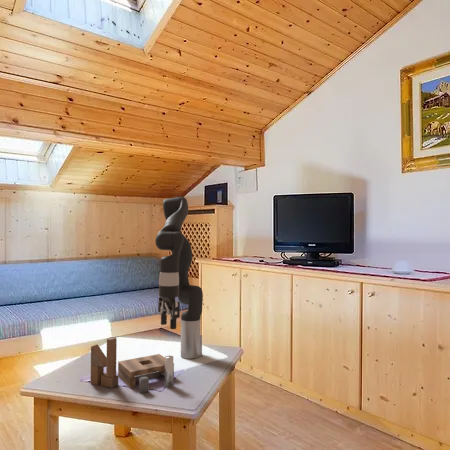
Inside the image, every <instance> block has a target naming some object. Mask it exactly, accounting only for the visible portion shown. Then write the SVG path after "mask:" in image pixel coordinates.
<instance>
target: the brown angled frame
mask: <svg viewBox="0 0 450 450" xmlns="http://www.w3.org/2000/svg"><path fill="white" fill-rule="evenodd" d="M117 341H118V340H117V337H113V336H111V337H108V338H107V339H106V355H105V353H104V351H103V350H102V349H101V347H100V346H99V344H94V345H91V346H90V384H93V385H96V386H97V385H101V387H106V388H111V389H113V388H114V387H116V386H119V377H118V374H117V350H118V349H117ZM104 369H106V371H105V372H104Z"/></svg>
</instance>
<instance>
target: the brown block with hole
mask: <svg viewBox="0 0 450 450" xmlns="http://www.w3.org/2000/svg"><path fill="white" fill-rule="evenodd" d="M158 372H159V373H160V374H161V375H162V376H164V377H165V356H164V355H162V354H160V353H157V354H152V355H151V354H150V355H147V356H146V355H145V356H140V357H135V358H130V359H125V360H119V361H118V362H117V375H118V379H120V380H121V381H122V382H123V383H124V384H126V386H127V387H129V389H132V388H136V377H138V376H139V377H140V376H143V375H144V376H145V375H149V374H152V373H154V374H155V373H158ZM173 379H175V363H174V362H173Z"/></svg>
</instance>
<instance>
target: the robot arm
mask: <svg viewBox="0 0 450 450" xmlns="http://www.w3.org/2000/svg"><path fill="white" fill-rule="evenodd" d="M162 208H163V214H164V219H165V222H164V225H163V227H162V228H161V229H160V230H159V231H158V232H157V234H156V236H155V241H154V242H155V246H156V248H157V249H158V250H161V251H171V254H169V255H165V256H162V257H161V258H160V260H159V277H158V280H159V281H158V296H159V297H158V307H157V312H158V313H159V315H160V325H162V326H164V325H167V324H168V323H167V322H168V321H167V320H168V319H167V318H168V315H169V319H170V320H169V321H170V322H169V329H170V330H176V329H177V320H178V319H179V318H180V357H181V358H182V359H186V360H189V359H191V360H192V359H198V358H199V357H203V335H202V334H201V325H202V324H201V319H202V318H201V317H202V313H203V304H204V303H203V301H204V299H203V298H204V294H203V293H204V292H203V289H202V288H201V287H200V286H198V285H192V284H190V281H189V280H190V279H189V272H190V267H191V265H192V263H193V251H192V245H191V242H190V241H189V240H188V238H187V237H186V236H185V235H184V234H183V233H182V227H183V223H184V222H185V220H186V218H187V216H188V214H189V203H188V200H187V199H186V197H185V196H176V197H170V198H165V199H164V200H163V201H162ZM176 298H177V299H178V301H177V300H176ZM180 304H183V305H188V306H187V307H188V308H187V310H186V311H183V312H182V313H181V311H180V310H181V308H180V307H181V305H180ZM180 313H181V314H180ZM167 314H168V315H167Z"/></svg>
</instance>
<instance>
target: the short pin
mask: <svg viewBox="0 0 450 450" xmlns="http://www.w3.org/2000/svg"><path fill="white" fill-rule="evenodd" d="M149 379H150V378H149V377H148V376H141V377H139V394H142V395H146V394H148V393H149Z"/></svg>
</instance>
